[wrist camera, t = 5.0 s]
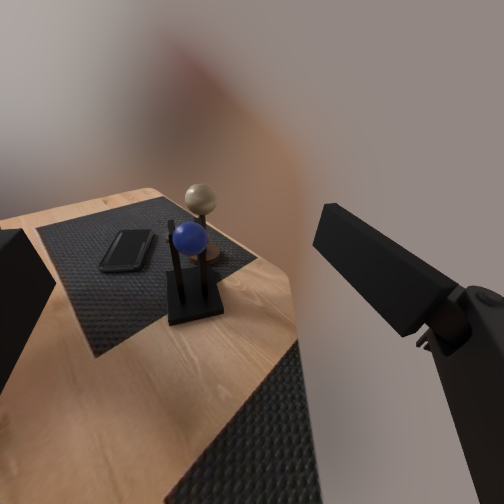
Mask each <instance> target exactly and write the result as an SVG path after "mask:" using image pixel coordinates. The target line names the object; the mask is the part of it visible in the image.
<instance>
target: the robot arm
mask: <svg viewBox="0 0 504 504" xmlns="http://www.w3.org/2000/svg"><path fill="white" fill-rule="evenodd" d="M313 246H314V247H315V248H316V249H317V250H318V251H319V252H320V254H322V256H323V257H324V258H325V259H326V260H327V261H328V262H329V263H330V264H331V265H332V266H333V267H334V268H335V269H336V270H337V271H338V272H339V273H340V274H341V275H342V276H343V277H344V278H345V279H346V280H347V281H348V282H349V283H350V284H351V285H352V286H353V287H354V288H355V289H356V291H358V292H359V294H360V295H361V296H363V298H364V299H365V300H366V301H367V302H368V303H369V304H370V305H371V306H372V307H373V308H374V309H375V310H376V311H377V312H378V313H379V314H380V315H381V316H382V317H383V318H384V319H385V320H386V321H387V322H388V323H389V324H390V325H391V326H392V328H393V329H394V330H396V332H397V333H398V334H399V335H400V336H401V337H405V336H408V335H411V334H414V333H416V332H417V331H418V330H419V329H420V328H421V326H422V325H423V324H424V323H425V324H426V325H427V326H428V327H430V328H429V329H428V330H427V331H426V332H425V333H424V334H423V335H422V337H420V339H419V340H418V341H417V342H416V347H420V346H421V345H422V344H423V343H424V342H425V341H428V343H427V344H426V345H425V346H424V349H425V350H428V351H431V352H432V355H433V358H434V362H435V365H436V368H437V371H438V374H439V377H440V380H441V383H442V386H443V390H444V393H445V396H446V399H447V402H448V405H449V408H450V411H451V415H452V417H453V421H454V424H455V427H456V430H457V433H458V437H459V440H460V443H461V446H462V449H463V452H464V455H465V458H466V462H467V465H468V468H469V471H470V474H471V477H472V480H473V483H474V486H475V490H476V493H477V496H478V499H479V502H480V504H504V297H502V296H501V295H499V294H497V293H495V292H493V291H491V290H489V289H486V288H483V287H479V286H468V287H467V288H466V289H465V288H463V287H462V286H460V285H459V284H458V283H456V282H455V281H453V280H452V279H450V278H449V277H447V276H446V275H444V274H443V273H441V272H440V271H438V270H437V269H435V268H433V267H432V266H430V265H429V264H427V263H426V262H424V261H423V260H421V259H420V258H418V257H417V256H415V255H414V254H412V253H411V252H409V251H408V250H406V249H405V248H403V247H402V246H400V245H399V244H397V243H396V242H394V241H393V240H391V239H390V238H388V237H386V236H385V235H383V234H382V233H380V232H379V231H377V230H376V229H374V228H373V227H371V226H370V225H368V224H367V223H365V222H364V221H362V220H361V219H359V218H358V217H356V216H355V215H353V214H352V213H350V212H349V211H347V210H346V209H344V208H342V207H341V206H339V205H338V204H337V203H331V204H324V207H323V211H322V214H321V218H320V221H319V224H318V228H317V231H316V235H315V238H314V241H313ZM55 285H56V282H55V280H54V278H53V277H52V275H51V274H50V272H49V270H48V269H47V267H46V266H45V264H44V262H43V261H42V259H41V258H40V256H39V255H38V253H37V251H36V250H35V248H34V247H33V245H32V243H31V242H30V240H29V239H28V237H27V235H26V234H25V232H24V231H23V229H22V228H20V229H7V230H1V227H0V395H1V393H2V391H3V389H4V387H5V385H6V383H7V381H8V379H9V377H10V375H11V373H12V371H13V369H14V367H15V365H16V363H17V361H18V359H19V357H20V355H21V353H22V351H23V349H24V347H25V345H26V343H27V341H28V339H29V337H30V335H31V333H32V331H33V329H34V327H35V325H36V323H37V321H38V319H39V317H40V315H41V313H42V311H43V309H44V307H45V305H46V303H47V301H48V299H49V297H50V295H51V293H52V291H53V289H54V287H55Z"/></svg>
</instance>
